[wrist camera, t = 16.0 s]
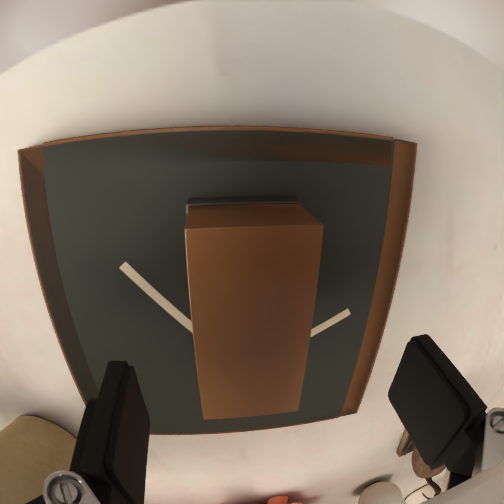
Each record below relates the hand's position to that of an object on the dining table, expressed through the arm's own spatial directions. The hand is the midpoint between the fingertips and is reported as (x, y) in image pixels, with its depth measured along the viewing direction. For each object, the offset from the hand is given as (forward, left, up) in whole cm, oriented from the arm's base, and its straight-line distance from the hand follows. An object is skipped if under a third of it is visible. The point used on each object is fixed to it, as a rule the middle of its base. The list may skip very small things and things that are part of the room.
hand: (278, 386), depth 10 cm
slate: (+2, -1, -8) cm, 8 cm away
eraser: (0, 0, -7) cm, 7 cm away
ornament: (+34, +18, -8) cm, 39 cm away
